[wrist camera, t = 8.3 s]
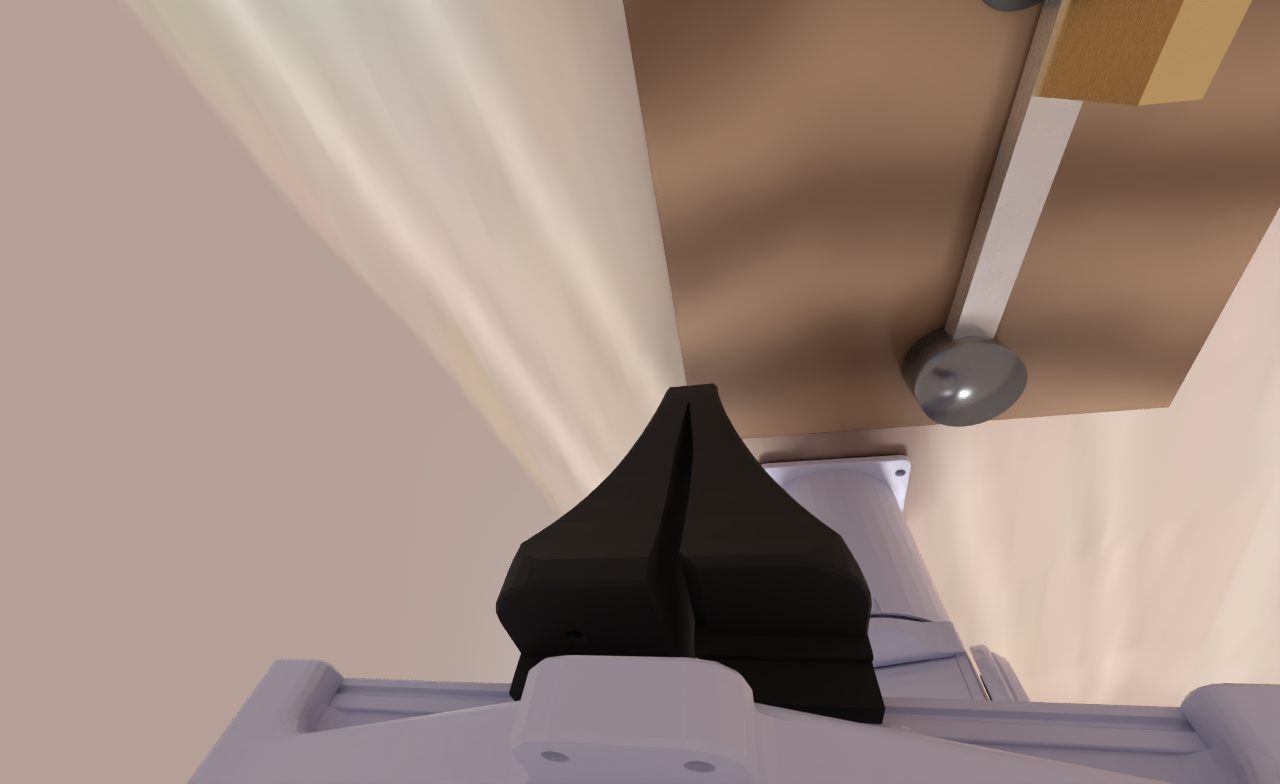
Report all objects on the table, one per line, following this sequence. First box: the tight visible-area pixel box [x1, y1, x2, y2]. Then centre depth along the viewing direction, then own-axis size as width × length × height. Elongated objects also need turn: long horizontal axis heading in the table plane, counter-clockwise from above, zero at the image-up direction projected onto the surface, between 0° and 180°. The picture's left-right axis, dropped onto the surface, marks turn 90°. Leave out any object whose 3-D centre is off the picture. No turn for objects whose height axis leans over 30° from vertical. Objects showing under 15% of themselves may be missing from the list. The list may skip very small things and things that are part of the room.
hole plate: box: [623, 0, 1280, 439], centre depth 17 cm, size 20×20×2 cm
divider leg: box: [902, 0, 1252, 427], centre depth 14 cm, size 16×4×5 cm, turn 6°
